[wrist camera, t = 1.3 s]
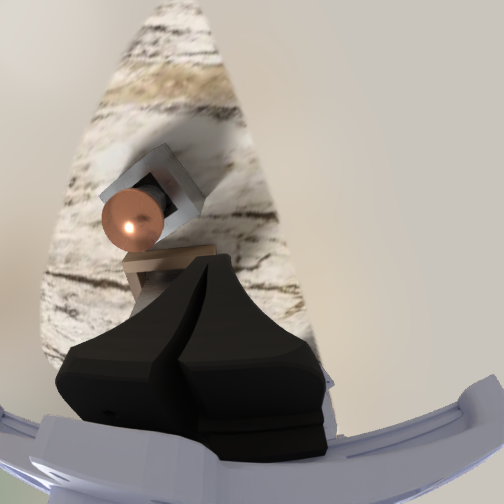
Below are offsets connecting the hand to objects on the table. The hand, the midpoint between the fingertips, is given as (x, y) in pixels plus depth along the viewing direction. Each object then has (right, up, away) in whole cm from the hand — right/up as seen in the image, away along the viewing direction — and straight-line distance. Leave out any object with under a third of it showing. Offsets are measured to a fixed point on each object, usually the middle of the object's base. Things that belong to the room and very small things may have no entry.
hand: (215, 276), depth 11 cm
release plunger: (-5, +4, +6) cm, 9 cm away
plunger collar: (-5, +5, +8) cm, 11 cm away
